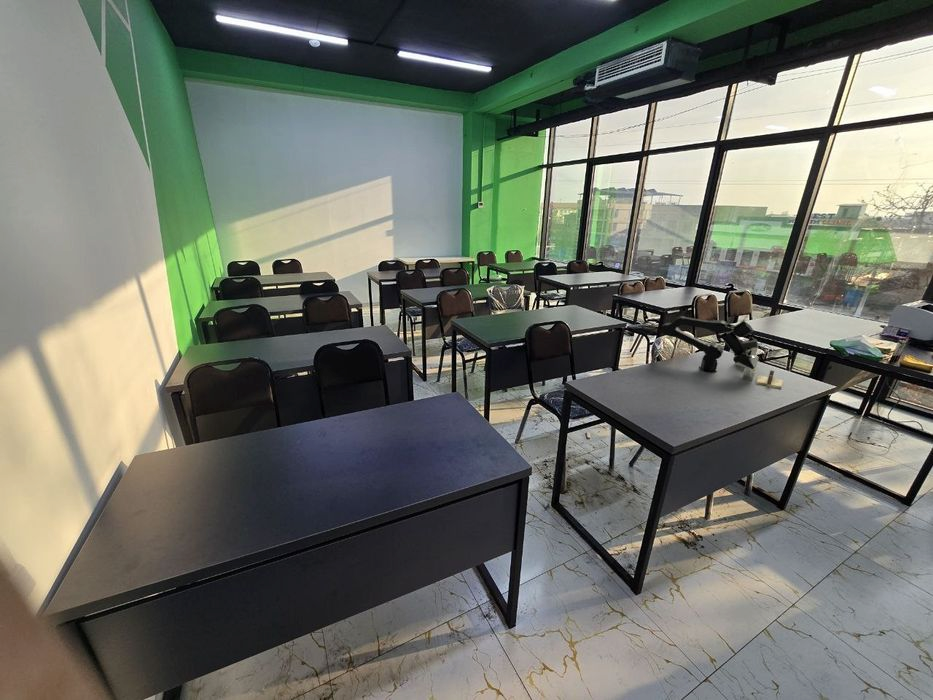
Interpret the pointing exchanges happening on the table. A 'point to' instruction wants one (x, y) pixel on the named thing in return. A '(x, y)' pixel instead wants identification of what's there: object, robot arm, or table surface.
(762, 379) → the peg rack
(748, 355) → the robot arm
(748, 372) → the silver metal cylinder
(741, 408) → the table surface
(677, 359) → the table surface
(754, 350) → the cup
